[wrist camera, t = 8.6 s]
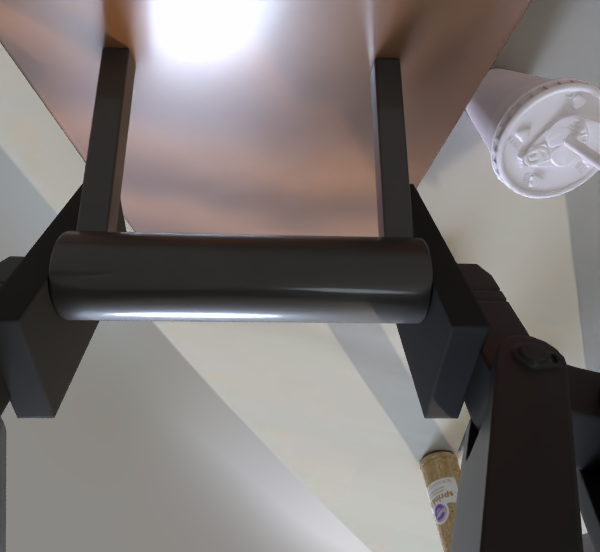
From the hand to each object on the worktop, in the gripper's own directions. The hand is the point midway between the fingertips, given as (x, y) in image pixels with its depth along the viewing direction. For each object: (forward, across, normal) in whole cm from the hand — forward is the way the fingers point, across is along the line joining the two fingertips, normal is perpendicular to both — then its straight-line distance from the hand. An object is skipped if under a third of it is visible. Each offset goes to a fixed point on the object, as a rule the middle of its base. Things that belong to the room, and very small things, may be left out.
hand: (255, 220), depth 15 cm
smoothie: (+21, -16, +1) cm, 26 cm away
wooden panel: (+6, 0, +1) cm, 6 cm away
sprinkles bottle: (+21, -21, +43) cm, 52 cm away
